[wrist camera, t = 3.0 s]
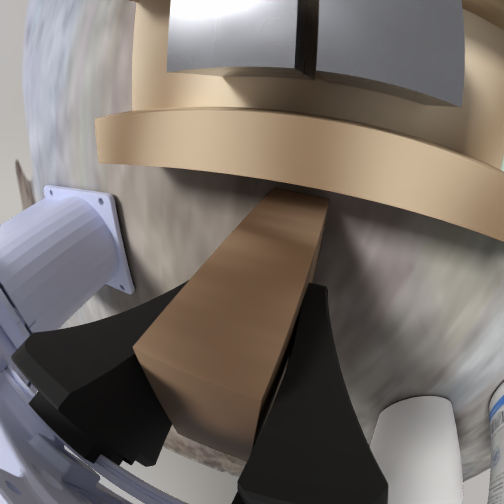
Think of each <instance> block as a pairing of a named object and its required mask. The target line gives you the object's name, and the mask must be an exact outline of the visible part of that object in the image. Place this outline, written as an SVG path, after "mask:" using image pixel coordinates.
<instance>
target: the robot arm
mask: <svg viewBox="0 0 504 504" xmlns="http://www.w3.org/2000/svg"><path fill="white" fill-rule="evenodd" d="M44 194H45V199H43V200H41V201H39V202H37V203H36V204H34V205H32V206H30V207H29V208H27V209H25V210H24V211H22V212H20V213H19V214H17V215H16V216H14V217H12V218H11V219H9V220H8V221H6V222H4V223H3V224H1V225H0V504H132V503H131V502H129V501H127V500H125V499H124V498H122V497H121V496H119V495H117V494H115V493H114V492H112V491H111V490H109V489H108V488H106V487H105V486H103V485H101V484H100V483H99V482H98V481H99V480H100V476H99V475H98V474H97V473H96V472H95V471H97V472H98V473H99V474H101V475H102V476H103V477H105V478H106V479H108V480H109V481H110V482H112V483H114V484H115V485H116V486H118V487H119V488H121V489H122V490H124V491H126V492H127V493H128V494H130V495H132V496H133V497H135V498H137V499H138V500H140V501H142V502H143V503H145V504H187V503H185V502H183V501H181V500H179V499H177V498H175V497H173V496H170V495H169V494H167V493H165V492H163V491H161V490H159V489H157V488H155V487H153V486H151V485H150V484H148V483H146V482H144V481H143V480H141V479H139V478H138V477H136V476H134V475H133V474H131V473H129V472H128V471H126V470H125V469H123V468H122V467H120V466H119V465H120V464H121V462H122V461H125V462H126V463H128V464H130V465H132V464H133V463H134V461H137V462H139V463H140V464H142V465H144V466H145V467H147V466H153V465H155V464H156V461H157V459H158V456H159V454H160V451H161V449H162V446H163V444H164V442H165V439H166V437H167V435H168V432H169V430H170V428H171V426H172V423H171V421H170V419H169V418H168V416H167V414H166V413H165V411H164V409H163V407H162V406H161V404H160V402H159V400H158V398H157V396H156V395H155V393H154V391H153V389H152V387H151V385H150V383H149V381H148V379H147V377H146V375H145V373H144V371H143V369H142V367H141V365H140V363H139V360H138V358H137V356H136V354H135V352H134V349H133V346H134V345H135V344H136V342H137V341H138V340H139V339H140V338H141V336H142V335H143V334H144V333H145V332H146V330H147V329H148V328H149V327H150V326H151V324H152V323H153V322H154V321H155V320H156V319H157V317H158V316H159V315H160V314H161V313H162V312H163V310H164V309H165V308H166V307H167V306H168V304H169V303H170V302H171V301H172V300H173V299H174V297H175V296H176V295H177V294H178V293H179V292H180V291H181V289H182V288H183V287H184V286H185V285H186V284H187V282H188V281H189V280H188V281H187V282H185V283H183V284H181V285H180V286H178V287H176V288H174V289H172V290H170V291H168V292H166V293H165V294H163V295H161V296H159V297H157V298H155V299H153V300H151V301H149V302H147V303H144V304H142V305H140V306H138V307H135V308H133V309H130V310H128V311H125V312H123V313H120V314H117V315H114V316H111V317H108V318H105V319H101V320H98V321H95V322H92V323H88V324H84V325H80V326H75V327H70V328H65V329H59V328H60V327H61V326H62V325H63V324H64V323H65V322H66V321H67V320H68V319H69V318H70V317H71V316H72V315H73V314H74V313H75V312H76V311H77V310H78V309H79V308H81V307H82V306H83V305H84V304H85V303H86V302H87V301H88V300H89V299H90V298H91V297H92V296H93V295H94V294H96V293H97V292H98V291H99V290H100V289H101V288H102V287H103V286H104V285H105V284H107V285H109V286H111V287H113V288H116V289H118V290H120V291H122V292H125V293H127V294H132V293H133V292H134V286H133V282H132V278H131V274H130V271H129V267H128V263H127V259H126V254H125V250H124V246H123V241H122V236H121V232H120V227H119V222H118V216H117V211H116V205H115V200H114V198H113V196H112V195H111V194H109V193H104V192H97V191H90V190H83V189H75V188H68V187H60V186H52V185H47V186H45V187H44ZM58 329H59V330H58ZM37 390H38V392H37ZM36 392H37V394H36ZM64 445H65V446H67V447H68V448H69V449H70V450H71V451H72V452H73V453H74V454H76V455H77V456H78V457H79V458H80V459H81V460H80V459H79V458H77V457H75V456H74V455H73V454H71V453H69V452H68V451H67V450H65V449H64ZM82 460H83V461H84V462H85V463H84V462H83V461H82ZM87 464H88V465H89V466H88V465H87ZM92 468H93V469H94V470H95V471H94V470H93V469H92ZM388 489H389V486H388V482H387V480H386V478H385V476H384V475H383V473H382V471H381V469H380V467H379V465H378V463H377V461H376V459H375V457H374V455H373V453H372V451H371V449H370V447H369V445H368V443H367V440H366V438H365V436H364V434H363V431H362V429H361V426H360V424H359V421H358V419H357V416H356V414H355V411H354V409H353V406H352V404H351V401H350V398H349V395H348V392H347V389H346V386H345V383H344V379H343V376H342V373H341V369H340V365H339V362H338V358H337V353H336V349H335V345H334V340H333V335H332V329H331V324H330V317H329V309H328V289H327V288H326V287H325V286H321V285H317V284H313V283H309V284H308V287H307V289H306V292H305V295H304V298H303V301H302V305H301V310H300V314H299V318H298V322H297V327H296V331H295V335H294V339H293V343H292V347H291V351H290V355H289V359H288V363H287V367H286V371H285V374H284V377H283V379H282V382H281V385H280V387H279V390H278V392H277V395H276V397H275V400H274V402H273V405H272V407H271V410H270V412H269V415H268V417H267V419H266V422H265V424H264V426H263V429H262V431H261V433H260V436H259V438H258V440H257V442H256V444H255V446H254V449H253V451H252V453H251V455H250V457H249V459H248V461H247V463H246V465H245V468H244V470H243V472H242V474H241V475H240V477H239V479H238V492H237V494H236V496H235V498H234V500H233V502H232V504H388Z"/></svg>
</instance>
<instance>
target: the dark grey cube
mask: <svg viewBox="0 0 504 504" xmlns="http://www.w3.org/2000/svg"><path fill="white" fill-rule="evenodd" d="M316 71H317V72H318V73H319V74H320V75H321V76H323V77H324V78H325V79H326V80H327V81H328V82H329V83H334V84H340V85H346V86H352V87H357V88H362V89H367V90H371V91H376V92H380V93H384V94H388V95H392V96H396V97H400V98H403V99H407V100H410V101H414V102H417V103H420V104H423V105H431V106H448V107H460V108H462V100H463V89H464V73H465V33H464V18H463V8H462V0H319V26H318V48H317V65H316Z"/></svg>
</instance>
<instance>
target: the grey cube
mask: <svg viewBox="0 0 504 504" xmlns="http://www.w3.org/2000/svg"><path fill="white" fill-rule="evenodd" d="M317 30H318V0H171V6H170V18H169V31H168V48H167V73H187V74H200V75H210V76H219V77H276V78H291V79H302V80H311V81H315V67H316V51H317Z"/></svg>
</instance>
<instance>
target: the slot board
mask: <svg viewBox="0 0 504 504" xmlns="http://www.w3.org/2000/svg"><path fill="white" fill-rule="evenodd" d="M131 1H135V2H137V6H136V15H135V26H134V40H133V61H132V109H133V111H129V112H124V113H119V114H114V115H109V116H105V117H101V118H96V119H95V130H96V142H97V152H98V160H99V163H105V164H128V165H145V166H158V167H170V168H181V169H191V170H200V171H209V172H217V173H225V174H233V175H240V176H247V177H254V178H260V179H266V180H273V181H279V182H284V183H290V184H296V185H301V186H306V187H311V188H316V189H321V190H326V191H331V192H336V193H340V194H345V195H349V196H354V197H358V198H362V199H367V200H371V201H375V202H379V203H383V204H387V205H391V206H394V207H398V208H402V209H405V210H409V211H413V212H416V213H420V214H423V215H426V216H430V217H433V218H436V219H440V220H443V221H446V222H449V223H452V224H455V225H458V226H461V227H464V228H467V229H470V230H473V231H476V232H479V233H482V234H484V235H487V236H490V237H492V238H495V239H498V240H500V241H503V242H504V172H503V171H502V170H500V169H501V165H502V160H503V155H504V0H462V8H463V18H464V33H465V73H464V89H463V100H462V108H460V107H448V106H431V105H423V104H420V103H417V102H414V101H410V100H407V99H403V98H400V97H396V96H392V95H388V94H384V93H380V92H376V91H371V90H367V89H362V88H357V87H352V86H346V85H340V84H334V83H329V82H328V81H327V80H326V79H325V78H324V77H323V76H321V75H320V74H319V73H318V72H317V71H316V67H315V81H311V80H302V79H291V78H276V77H219V76H210V75H200V74H187V73H167V48H168V31H169V18H170V6H171V0H131ZM318 26H319V0H318ZM317 48H318V30H317ZM316 65H317V51H316Z"/></svg>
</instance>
